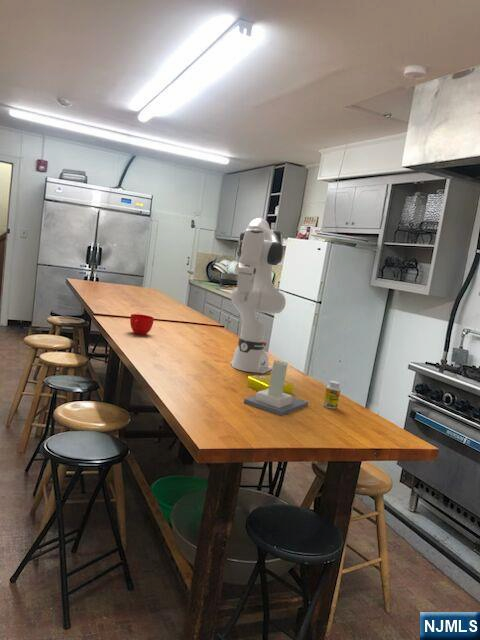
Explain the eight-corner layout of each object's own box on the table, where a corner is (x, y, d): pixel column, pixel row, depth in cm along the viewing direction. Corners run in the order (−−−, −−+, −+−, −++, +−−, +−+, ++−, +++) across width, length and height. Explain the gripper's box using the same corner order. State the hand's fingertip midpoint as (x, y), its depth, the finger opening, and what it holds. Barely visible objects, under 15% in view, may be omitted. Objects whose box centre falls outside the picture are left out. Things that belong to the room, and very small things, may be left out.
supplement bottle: (326, 408, 193) (331, 383, 192) (320, 403, 199) (325, 379, 197) (339, 409, 195) (344, 384, 193) (333, 405, 200) (338, 380, 199)
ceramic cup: (121, 333, 272) (124, 315, 271) (133, 330, 289) (135, 313, 288) (144, 338, 270) (146, 320, 269) (154, 334, 287) (157, 317, 286)
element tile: (268, 397, 197) (270, 385, 197) (244, 385, 209) (246, 374, 208) (294, 395, 207) (296, 384, 206) (269, 384, 218) (271, 373, 218)
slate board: (272, 393, 201) (274, 383, 201) (307, 405, 193) (309, 394, 192) (243, 402, 183) (245, 390, 182) (281, 416, 174) (284, 403, 174)
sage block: (269, 390, 187) (274, 360, 186) (282, 393, 187) (287, 362, 185) (267, 394, 183) (273, 362, 181) (281, 397, 182) (287, 365, 180)
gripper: (244, 267, 213) (239, 299, 215) (237, 267, 193) (231, 302, 195) (259, 270, 212) (253, 301, 214) (253, 270, 192) (247, 305, 194)
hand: (243, 302), depth 204 cm, fingers open, 8 cm apart
